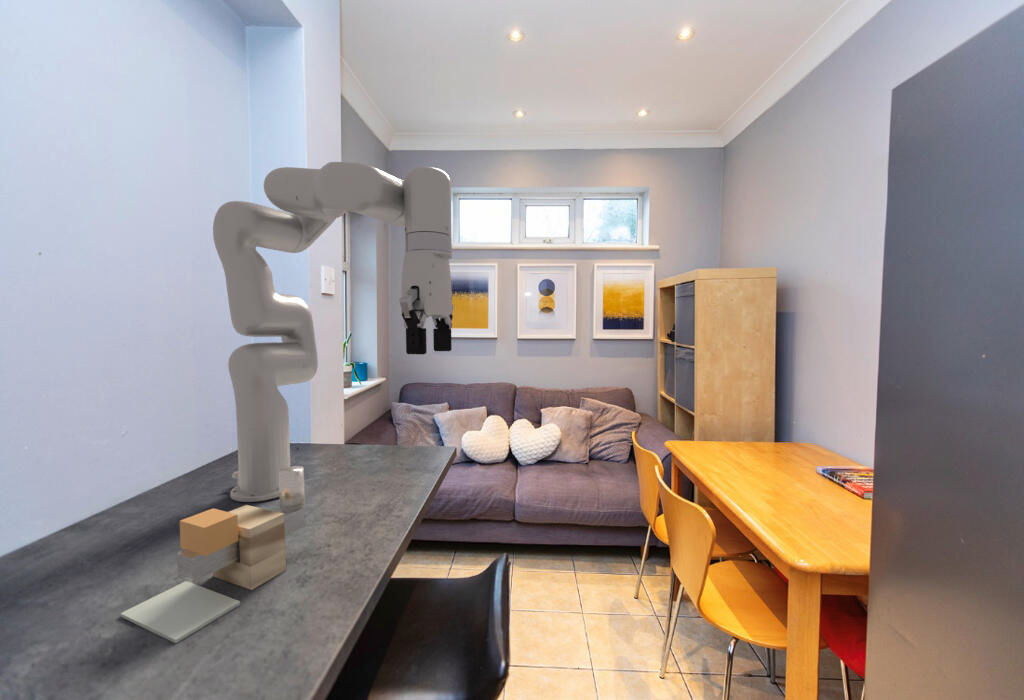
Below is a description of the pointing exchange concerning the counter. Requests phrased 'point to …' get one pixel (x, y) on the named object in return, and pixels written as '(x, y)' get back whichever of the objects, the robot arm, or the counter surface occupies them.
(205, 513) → the block
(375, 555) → the counter surface
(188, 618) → the pad
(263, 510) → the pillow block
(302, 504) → the shaft
